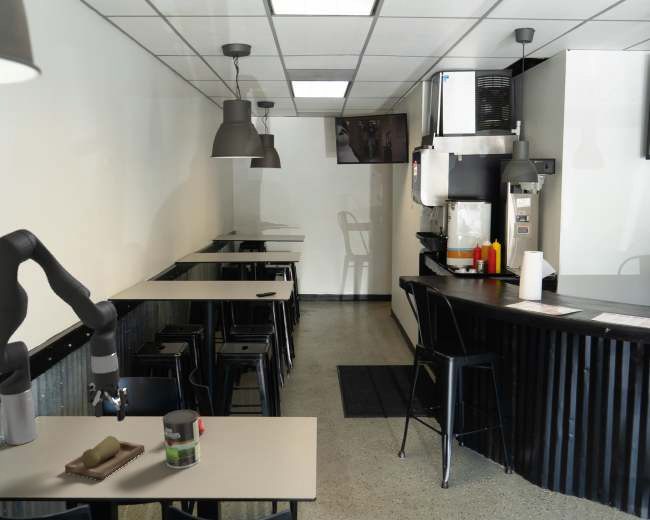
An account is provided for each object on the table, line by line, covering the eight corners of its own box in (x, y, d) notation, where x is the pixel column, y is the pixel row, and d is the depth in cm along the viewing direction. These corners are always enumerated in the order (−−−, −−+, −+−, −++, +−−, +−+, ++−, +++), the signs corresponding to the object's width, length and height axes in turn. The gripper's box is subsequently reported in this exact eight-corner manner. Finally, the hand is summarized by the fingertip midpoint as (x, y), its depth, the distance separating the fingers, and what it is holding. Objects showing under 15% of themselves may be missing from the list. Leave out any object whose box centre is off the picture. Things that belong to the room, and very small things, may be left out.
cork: (121, 454, 180) (96, 470, 170) (106, 455, 182) (80, 470, 172) (118, 435, 180) (92, 450, 170) (102, 436, 182) (76, 450, 172)
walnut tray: (65, 473, 173) (64, 465, 173) (110, 446, 190) (109, 439, 189) (101, 481, 168) (101, 473, 167) (144, 452, 184) (144, 445, 184)
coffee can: (184, 472, 171) (180, 426, 169) (159, 464, 176) (154, 419, 174) (208, 456, 179) (205, 412, 177) (184, 449, 185) (180, 407, 183)
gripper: (77, 369, 177) (83, 420, 179) (114, 374, 171) (119, 427, 174) (96, 361, 183) (101, 410, 186) (132, 366, 178) (137, 416, 180)
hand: (110, 418), depth 180 cm, fingers open, 8 cm apart
